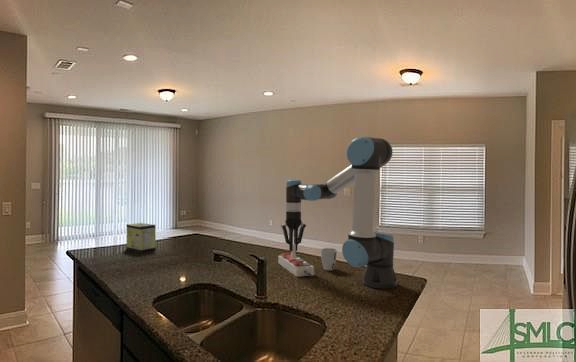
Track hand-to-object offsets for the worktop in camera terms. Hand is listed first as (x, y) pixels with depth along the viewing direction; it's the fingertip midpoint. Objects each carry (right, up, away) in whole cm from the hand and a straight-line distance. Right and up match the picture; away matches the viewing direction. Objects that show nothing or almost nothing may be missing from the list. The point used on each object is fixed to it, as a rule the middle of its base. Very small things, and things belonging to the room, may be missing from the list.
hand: (293, 257), depth 200 cm
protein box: (-93, -4, +45) cm, 104 cm away
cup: (+18, -7, +3) cm, 19 cm away
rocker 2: (-1, -1, +2) cm, 3 cm away
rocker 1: (-4, -1, +11) cm, 11 cm away
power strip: (+2, -7, 0) cm, 7 cm away
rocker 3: (+2, -1, -6) cm, 7 cm away
